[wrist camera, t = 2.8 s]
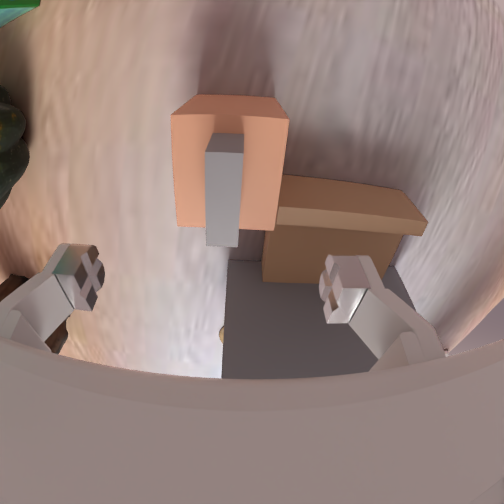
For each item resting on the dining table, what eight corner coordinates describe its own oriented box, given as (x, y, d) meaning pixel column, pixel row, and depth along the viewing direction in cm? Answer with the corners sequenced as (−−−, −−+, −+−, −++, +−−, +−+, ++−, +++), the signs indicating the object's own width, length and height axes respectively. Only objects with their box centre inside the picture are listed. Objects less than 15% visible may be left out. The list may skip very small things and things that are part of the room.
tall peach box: (274, 97, 19) (299, 135, 10) (266, 176, 23) (278, 263, 15) (197, 94, 18) (152, 130, 10) (196, 173, 23) (166, 258, 14)
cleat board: (426, 195, 24) (514, 315, 12) (378, 296, 34) (414, 405, 22) (231, 171, 23) (214, 340, 11) (227, 294, 33) (221, 426, 21)
